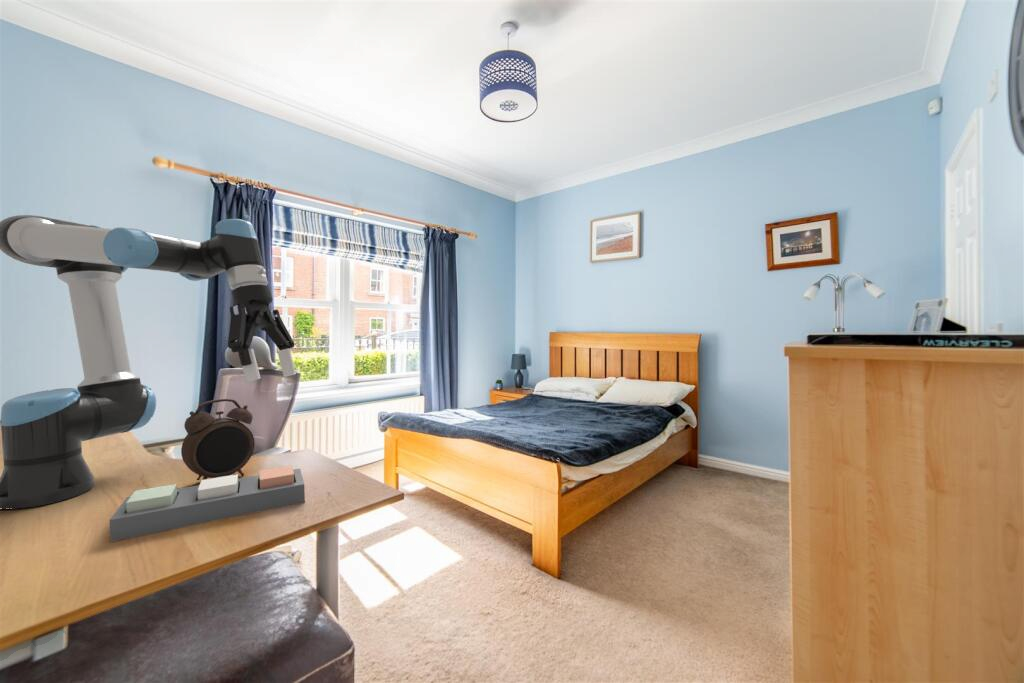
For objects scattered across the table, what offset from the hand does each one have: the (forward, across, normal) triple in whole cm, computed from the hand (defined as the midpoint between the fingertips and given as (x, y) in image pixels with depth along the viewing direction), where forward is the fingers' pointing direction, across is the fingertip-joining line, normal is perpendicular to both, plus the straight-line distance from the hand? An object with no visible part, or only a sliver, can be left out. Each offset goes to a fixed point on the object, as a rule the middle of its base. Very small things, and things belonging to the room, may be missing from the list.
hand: (273, 378), depth 93 cm
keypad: (+24, -7, +13) cm, 29 cm away
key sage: (+20, -13, +21) cm, 32 cm away
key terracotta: (+24, -2, +4) cm, 24 cm away
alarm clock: (+21, +9, +24) cm, 33 cm away
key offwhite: (+22, -8, +13) cm, 26 cm away
